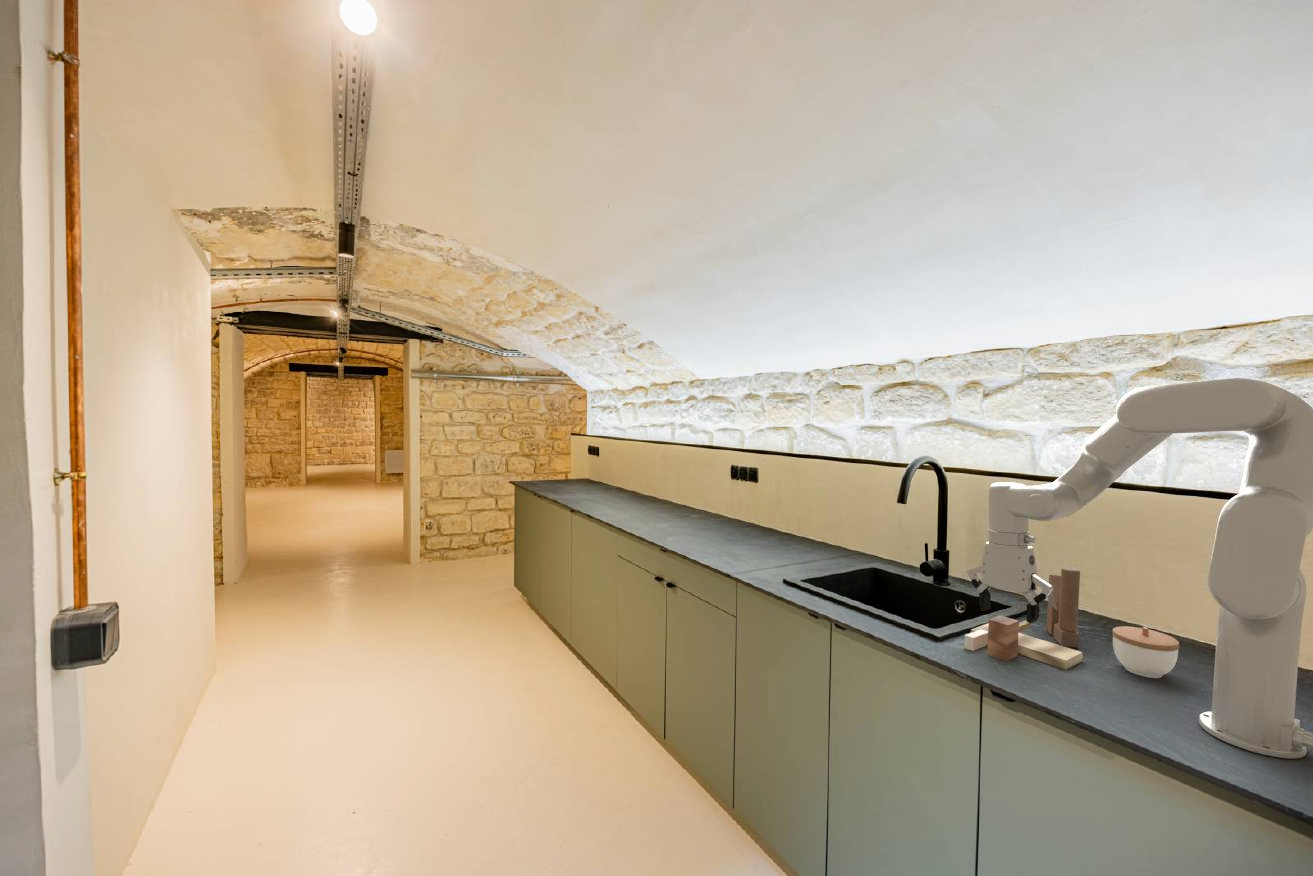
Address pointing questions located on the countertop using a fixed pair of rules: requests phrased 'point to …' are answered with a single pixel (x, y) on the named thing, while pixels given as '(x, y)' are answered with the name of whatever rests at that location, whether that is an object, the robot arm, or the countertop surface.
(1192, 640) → the countertop surface
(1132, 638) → the lidded jar
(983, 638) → the end stop
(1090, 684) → the countertop surface
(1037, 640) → the oak board
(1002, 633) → the upright brown wood block
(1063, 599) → the wooden block
